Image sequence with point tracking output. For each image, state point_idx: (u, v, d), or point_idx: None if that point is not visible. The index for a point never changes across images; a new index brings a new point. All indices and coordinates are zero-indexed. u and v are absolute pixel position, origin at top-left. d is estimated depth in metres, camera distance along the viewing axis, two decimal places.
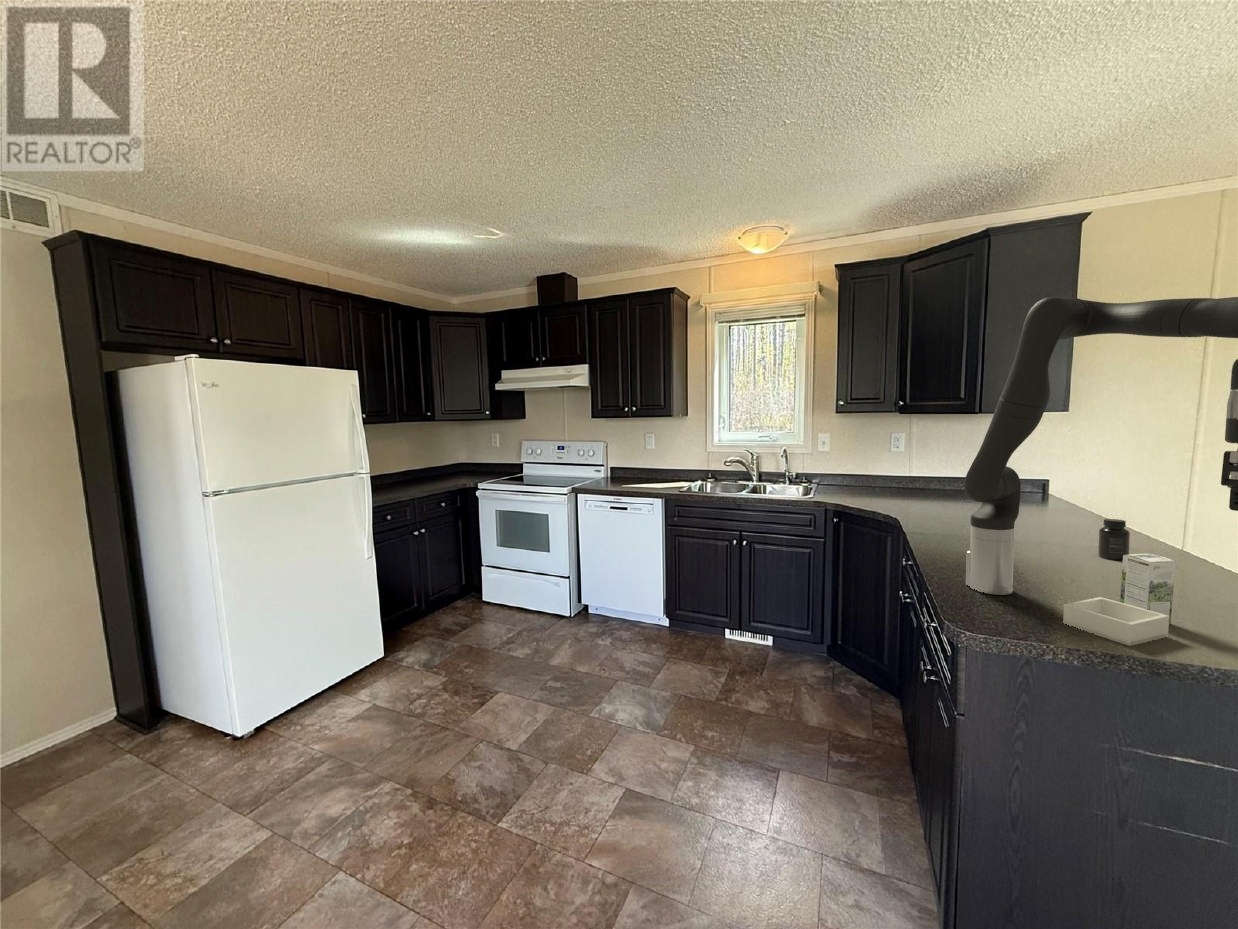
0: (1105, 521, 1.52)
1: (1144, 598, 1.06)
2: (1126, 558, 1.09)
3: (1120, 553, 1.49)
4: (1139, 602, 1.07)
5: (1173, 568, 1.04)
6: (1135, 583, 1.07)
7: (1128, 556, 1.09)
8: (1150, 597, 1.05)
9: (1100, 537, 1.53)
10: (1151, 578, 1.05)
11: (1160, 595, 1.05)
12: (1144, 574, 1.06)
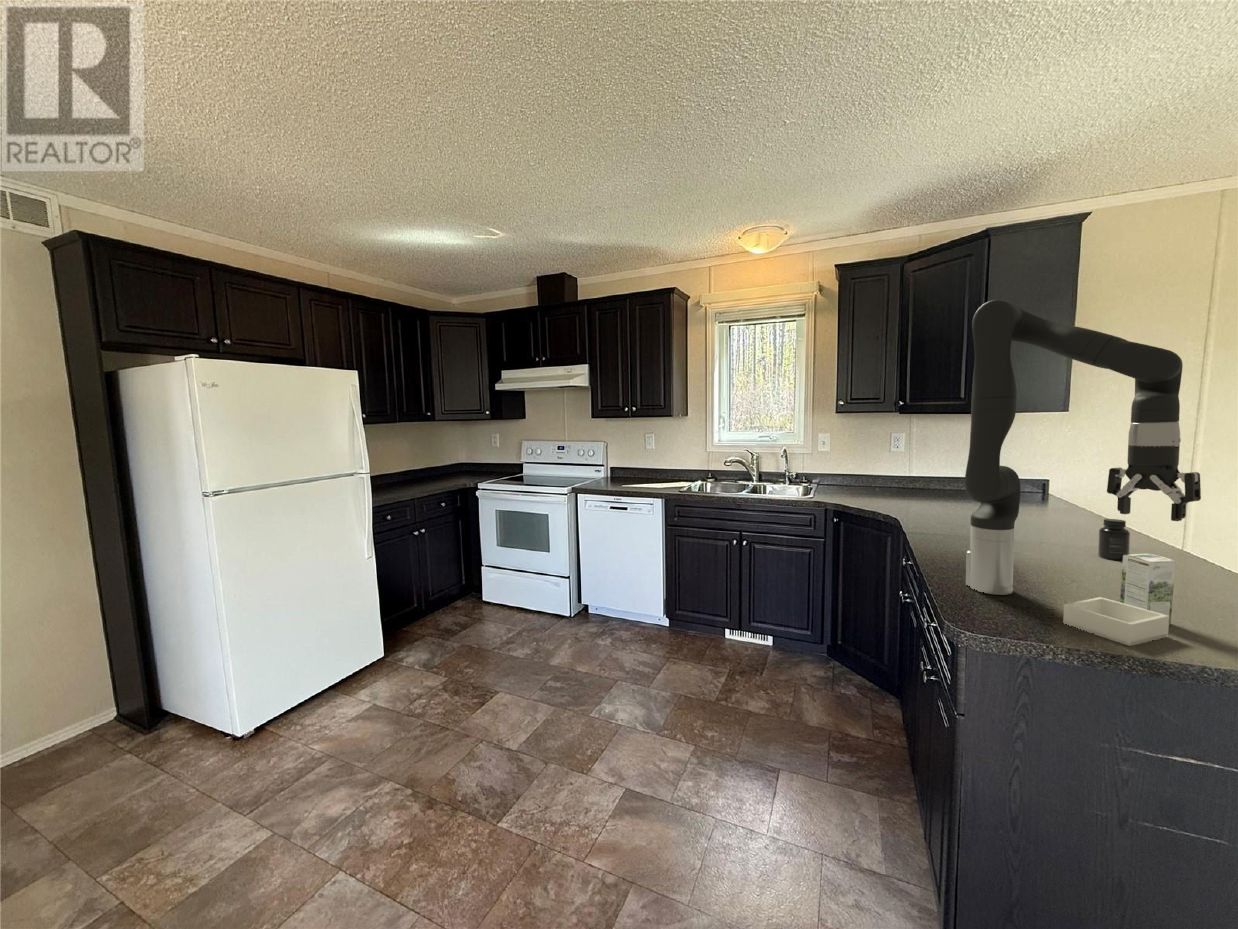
0: (1105, 521, 1.52)
1: (1144, 598, 1.06)
2: (1126, 558, 1.09)
3: (1120, 554, 1.49)
4: (1139, 602, 1.07)
5: (1173, 568, 1.04)
6: (1135, 583, 1.07)
7: (1128, 556, 1.09)
8: (1150, 597, 1.05)
9: (1100, 537, 1.53)
10: (1151, 578, 1.05)
11: (1160, 595, 1.05)
12: (1144, 574, 1.06)
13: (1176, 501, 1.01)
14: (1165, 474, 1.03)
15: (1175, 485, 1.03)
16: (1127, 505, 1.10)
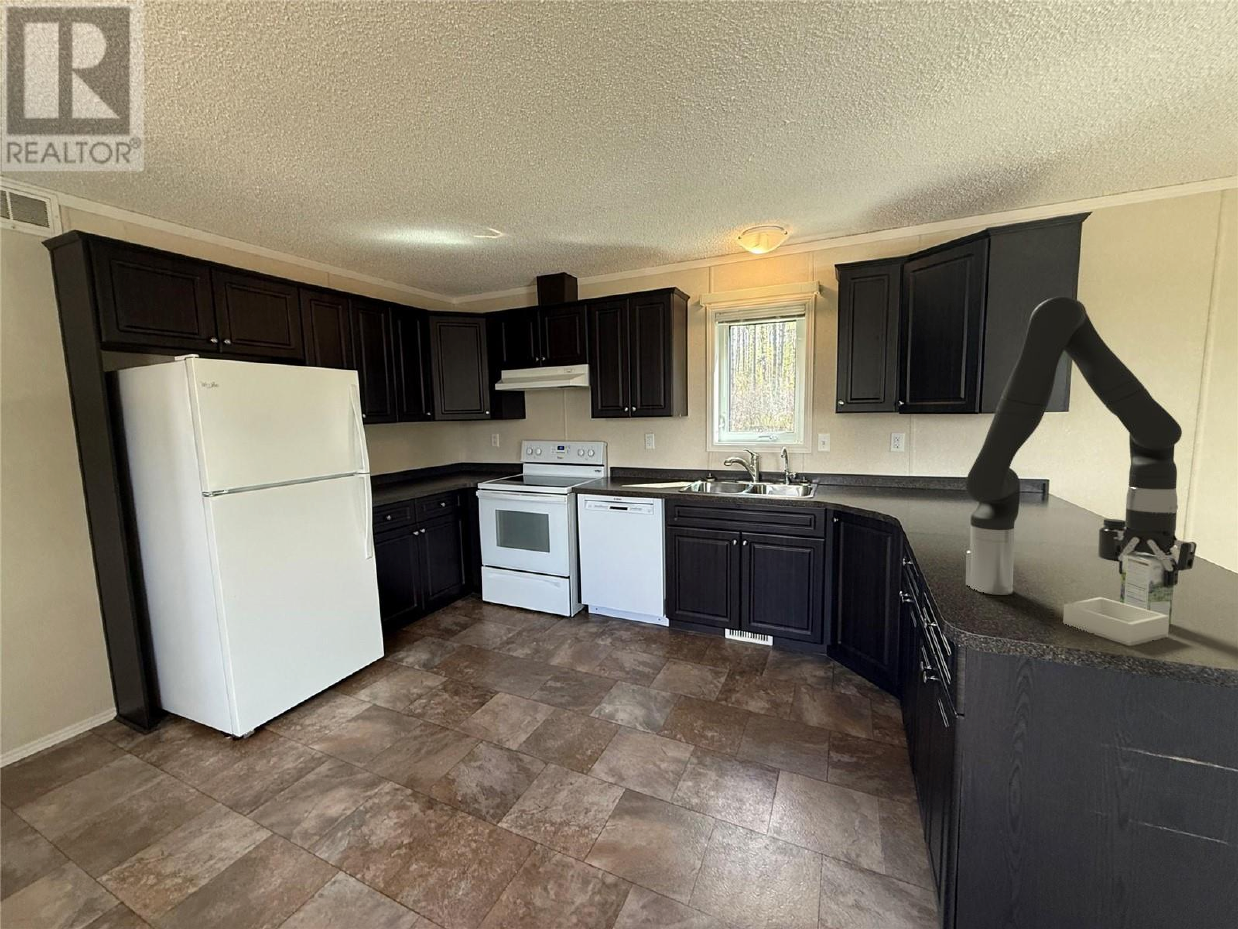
0: (1105, 521, 1.52)
1: (1144, 598, 1.06)
2: (1126, 558, 1.09)
3: None
4: (1139, 602, 1.07)
5: None
6: (1135, 583, 1.07)
7: (1128, 556, 1.09)
8: (1150, 597, 1.05)
9: (1100, 537, 1.53)
10: (1151, 578, 1.05)
11: (1160, 595, 1.05)
12: (1144, 574, 1.06)
13: (1168, 568, 1.03)
14: (1162, 539, 1.04)
15: (1170, 551, 1.04)
16: None
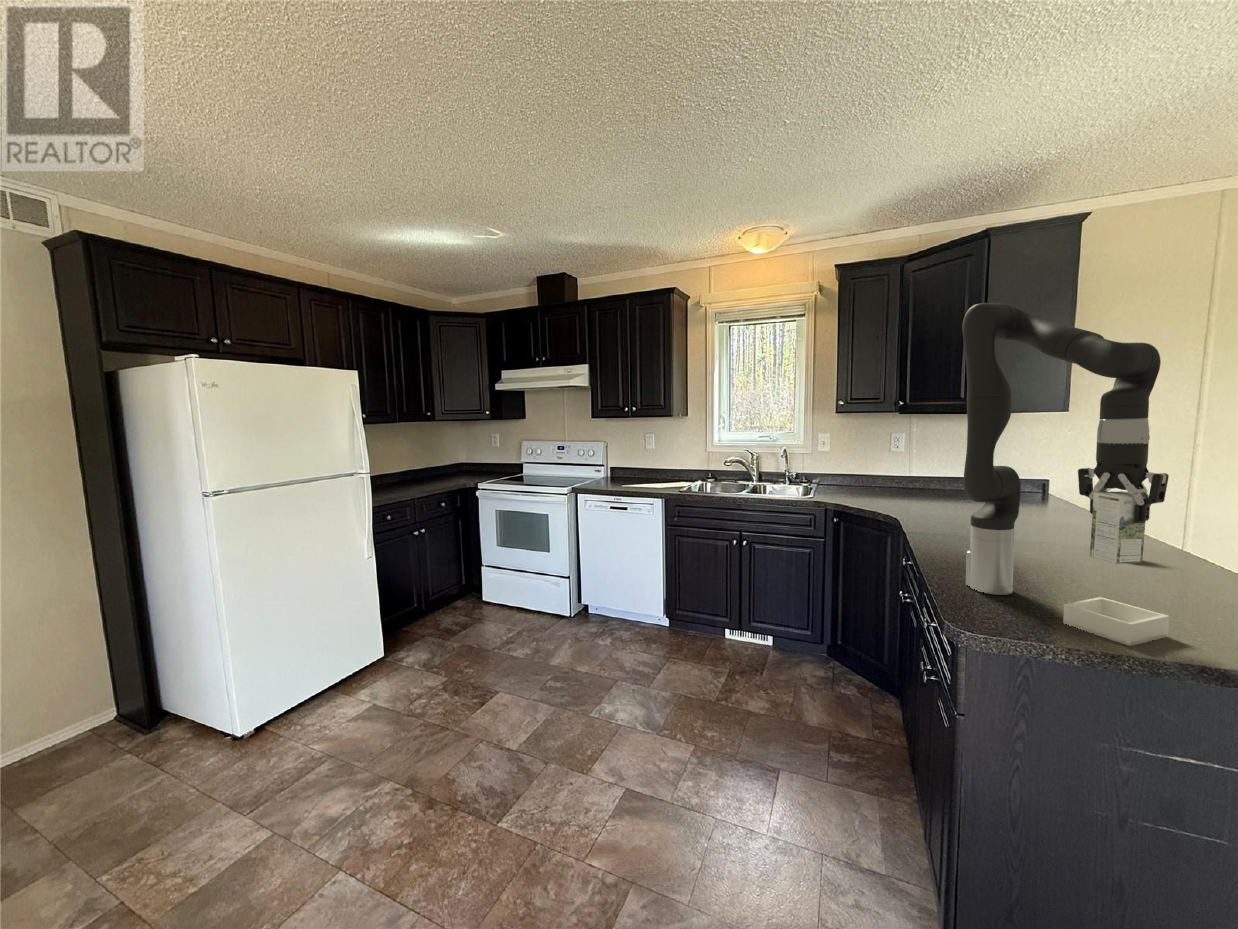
0: None
1: (1114, 535, 1.00)
2: (1096, 495, 1.04)
3: None
4: (1110, 540, 1.01)
5: None
6: (1105, 521, 1.02)
7: (1098, 493, 1.03)
8: (1121, 534, 1.00)
9: None
10: (1122, 514, 0.99)
11: (1131, 532, 1.00)
12: (1114, 510, 1.00)
13: (1139, 503, 0.98)
14: (1134, 472, 0.98)
15: (1142, 485, 0.99)
16: None
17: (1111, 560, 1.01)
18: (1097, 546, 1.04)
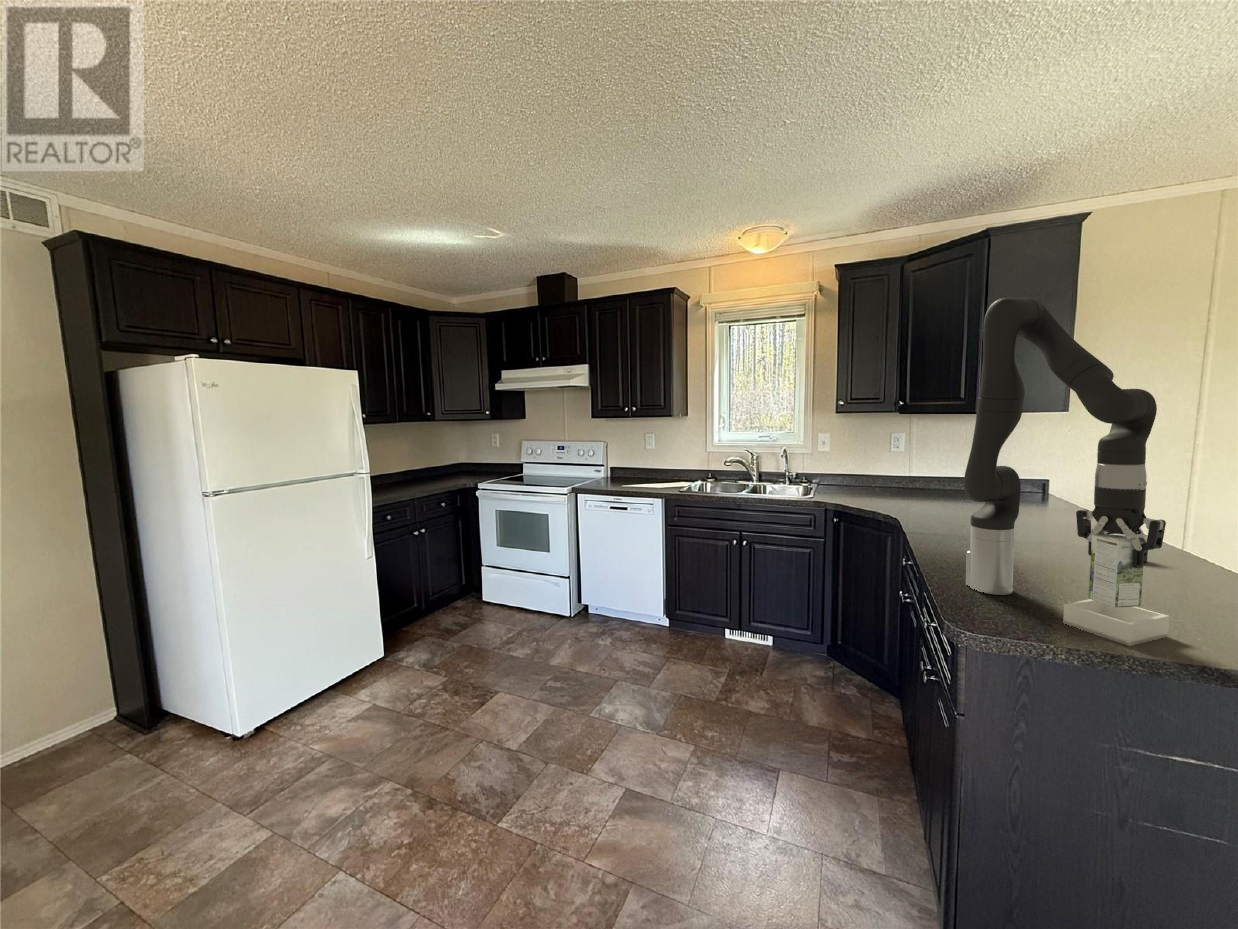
0: None
1: (1113, 579, 1.01)
2: (1095, 538, 1.04)
3: None
4: (1108, 584, 1.02)
5: None
6: (1104, 564, 1.03)
7: (1097, 536, 1.04)
8: (1119, 578, 1.00)
9: None
10: (1120, 558, 1.00)
11: (1129, 576, 1.00)
12: (1112, 554, 1.01)
13: (1137, 548, 0.98)
14: (1131, 518, 0.99)
15: (1140, 530, 1.00)
16: None
17: (1110, 603, 1.02)
18: (1096, 589, 1.05)
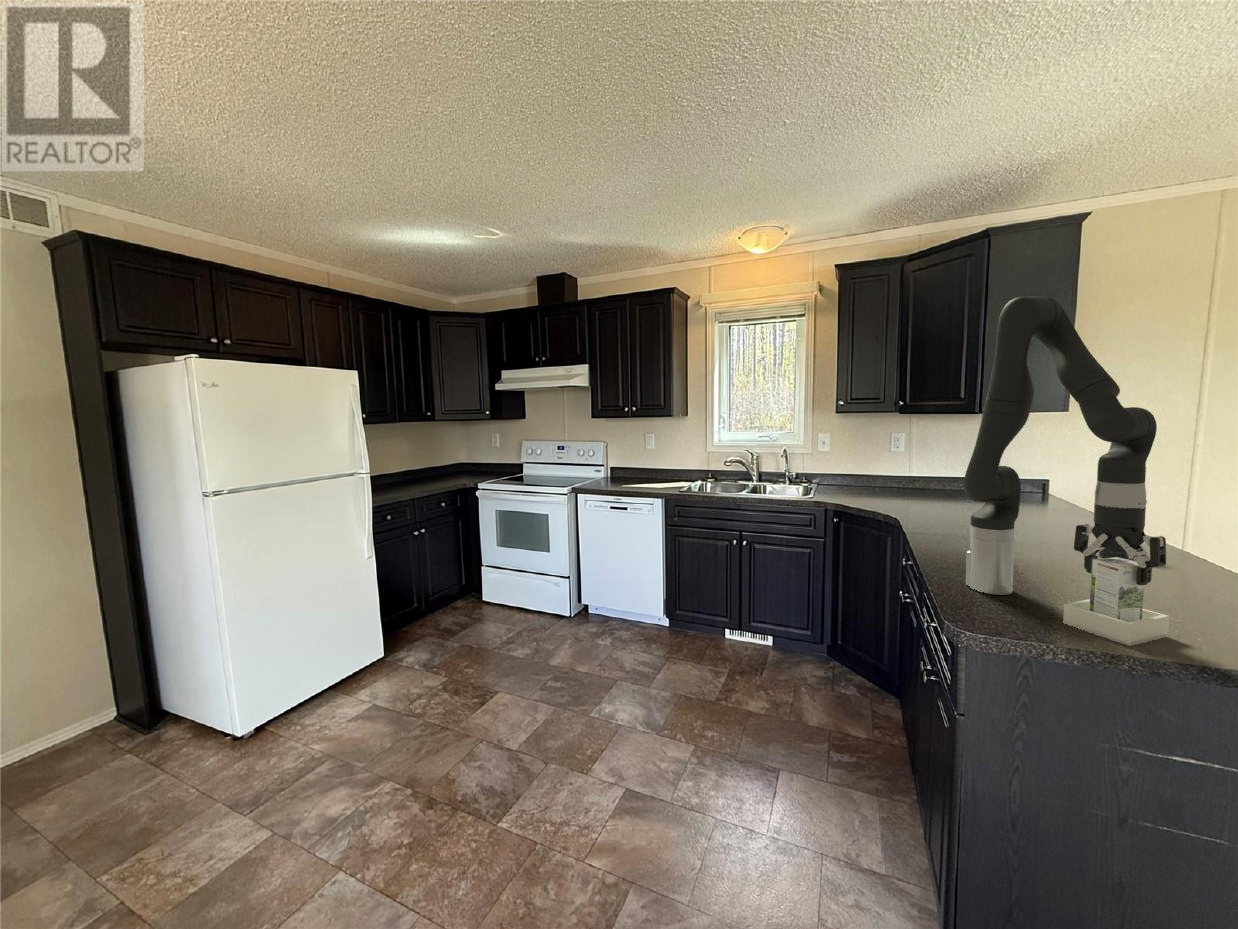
0: None
1: (1114, 604, 1.01)
2: (1095, 562, 1.04)
3: (1120, 554, 1.49)
4: (1109, 608, 1.02)
5: None
6: (1105, 589, 1.03)
7: (1097, 560, 1.04)
8: (1120, 603, 1.01)
9: None
10: (1121, 583, 1.00)
11: (1130, 601, 1.01)
12: (1113, 579, 1.01)
13: (1141, 565, 0.98)
14: (1131, 536, 0.99)
15: (1141, 547, 1.00)
16: None
17: None
18: None
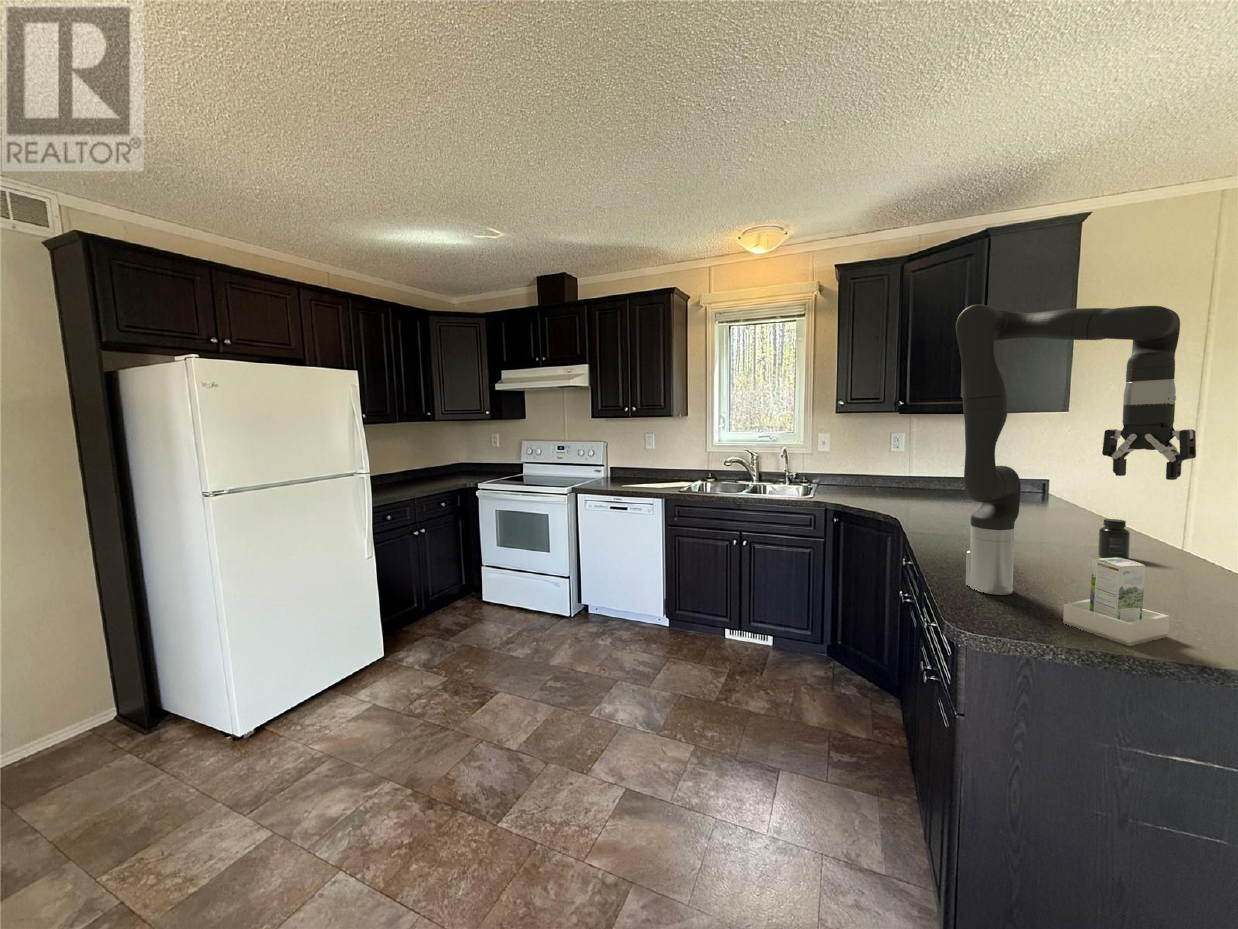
0: (1105, 521, 1.52)
1: (1114, 604, 1.01)
2: (1095, 562, 1.05)
3: (1120, 554, 1.49)
4: (1109, 608, 1.02)
5: (1143, 573, 1.00)
6: (1105, 589, 1.03)
7: (1098, 560, 1.04)
8: (1120, 603, 1.01)
9: (1100, 537, 1.53)
10: (1121, 583, 1.00)
11: (1130, 601, 1.01)
12: (1113, 579, 1.01)
13: (1171, 459, 1.00)
14: (1160, 432, 1.02)
15: (1170, 444, 1.02)
16: (1122, 467, 1.09)
17: None
18: None
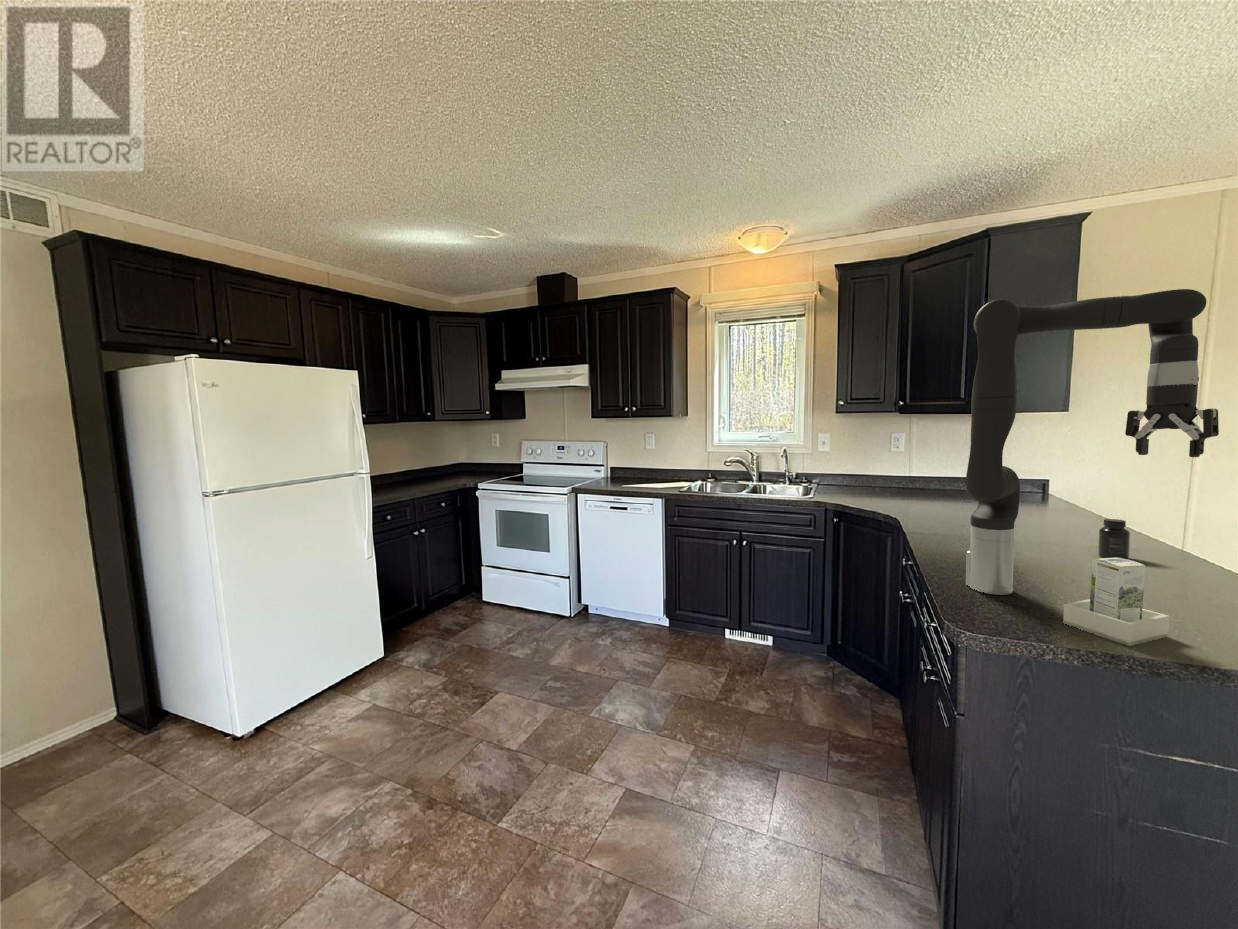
0: (1105, 521, 1.52)
1: (1114, 604, 1.01)
2: (1095, 562, 1.05)
3: (1120, 554, 1.49)
4: (1109, 608, 1.02)
5: (1143, 573, 1.00)
6: (1105, 589, 1.03)
7: (1098, 560, 1.04)
8: (1120, 603, 1.01)
9: (1100, 537, 1.53)
10: (1121, 583, 1.00)
11: (1130, 601, 1.01)
12: (1113, 579, 1.01)
13: (1194, 437, 1.04)
14: (1184, 412, 1.06)
15: (1193, 423, 1.06)
16: (1145, 446, 1.13)
17: None
18: None
